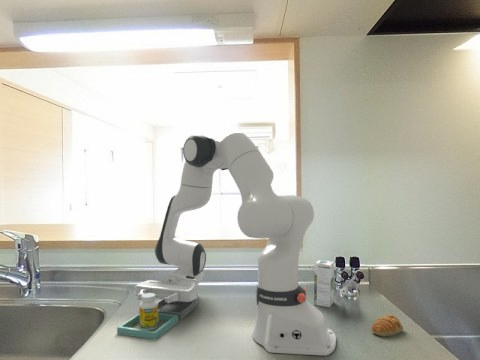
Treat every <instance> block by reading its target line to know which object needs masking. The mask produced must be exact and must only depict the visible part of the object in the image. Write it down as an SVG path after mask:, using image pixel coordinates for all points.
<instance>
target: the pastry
mask: <svg viewBox="0 0 480 360" xmlns="http://www.w3.org/2000/svg"><path fill="white" fill-rule="evenodd" d="M403 330H404V326H403V325H402V323H401V321H400V319H399V318H398V317H397V316H395V315H393V314H392V315H391V314H390V315H389V314H385V316H383V317H379V318H377V319H376V320H375V321H374V322H373V325H372V326H371V331H372V334H375V335H377V336H381V337H383V338H385V337H390V336H395V335H397V333H398V334H399V333H401V332H403Z"/></svg>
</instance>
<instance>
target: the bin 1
mask: <svg viewBox="0 0 480 360" xmlns="http://www.w3.org/2000/svg"><path fill="white" fill-rule="evenodd" d="M158 321H165V323H164V324H162V325H161V326H160V327H157V328H156V330H155V331H153V330H149V331H148V330H142V329H140V328H134V327H132V326H134V325H135V324H136V323H138V322H140V312H138V313H137V314H135V315H134V316H132V317H131V318H129V319H128V320H126V321H124V322H123V323H122V324H120V325H118V326H116V327H117V328H116V333H117V335H125V336H132V337H138V338H144V339H148V340H149V339H150V340H157V339H158V338H160V337H161V336H162V335H163V334H164V333H166V332H167V331H168V330H169V329H170V328H172V327H173V326H175V325H176V324H177V323H178V321H179V319H178V315H171V314H163V313H158Z"/></svg>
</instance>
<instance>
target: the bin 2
mask: <svg viewBox="0 0 480 360" xmlns="http://www.w3.org/2000/svg"><path fill="white" fill-rule="evenodd" d="M164 301H165V300H164V299H158V301H157V302H158V313H163V314H171V315H178V320H182V319H183V318H184V317H186V315H188V314H189V313H190V312H191V311H192V310H194V309H195V308H196V307H198V305H199V302H198V299H194V300H193V301H191V302H181V301H174V302H171V303H170V304H176V305H185V306H186V307H184V308H183V309H182V310H181V311H179V312H178V311H170V310H164V309H163V310H161V309H159V308H160V307H162V306H163V305H165V304H166V303H164Z"/></svg>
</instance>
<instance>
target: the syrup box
mask: <svg viewBox="0 0 480 360" xmlns="http://www.w3.org/2000/svg"><path fill="white" fill-rule="evenodd" d="M313 269H314V270H313V271H314V278H313V279H314V281H313V283H314V285H313V306H314V305H315V306H318V307H326V308H331V307H332V305H333V304H334V302H335V297H334V296H335V262H334V261H331V260H325V259H324V260H323V259H321V260H320V259H319V260H317V261H316V262H315V263H314V268H313Z"/></svg>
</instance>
